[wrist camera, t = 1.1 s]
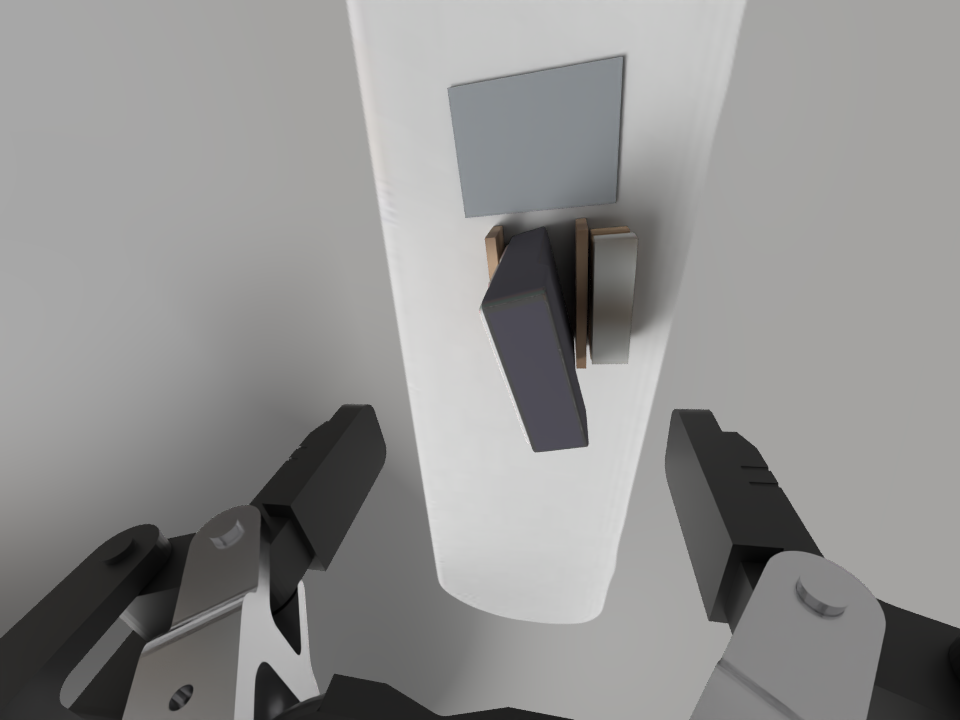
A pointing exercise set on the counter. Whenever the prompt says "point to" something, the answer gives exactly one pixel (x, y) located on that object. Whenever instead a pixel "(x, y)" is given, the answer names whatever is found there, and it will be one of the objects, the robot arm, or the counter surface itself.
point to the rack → (496, 250)
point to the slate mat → (539, 139)
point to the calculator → (535, 344)
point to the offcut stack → (611, 293)
